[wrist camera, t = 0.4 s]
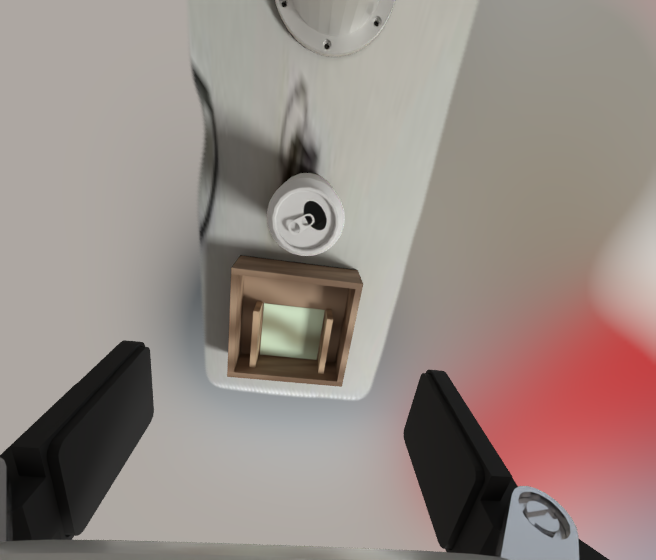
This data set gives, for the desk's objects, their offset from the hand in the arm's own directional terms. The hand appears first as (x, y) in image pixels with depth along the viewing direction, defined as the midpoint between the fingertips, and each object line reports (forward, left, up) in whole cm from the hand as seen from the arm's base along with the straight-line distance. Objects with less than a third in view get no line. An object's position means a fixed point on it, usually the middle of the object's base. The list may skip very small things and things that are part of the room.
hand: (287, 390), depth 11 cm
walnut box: (+14, 0, -31) cm, 34 cm away
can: (-2, 0, -32) cm, 32 cm away
